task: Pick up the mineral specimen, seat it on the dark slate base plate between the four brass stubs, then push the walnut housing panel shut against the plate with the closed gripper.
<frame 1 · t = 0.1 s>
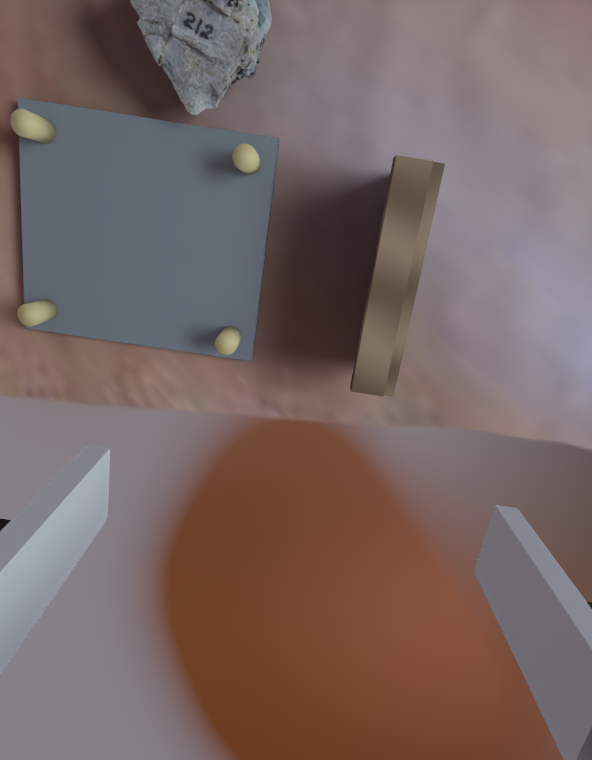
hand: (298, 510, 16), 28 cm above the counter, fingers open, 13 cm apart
housing panel: (385, 279, 37), point 4 cm above the counter, slide at 0.0 cm
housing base: (148, 239, 41), on the counter
mineral specimen: (210, 40, 36), on the counter
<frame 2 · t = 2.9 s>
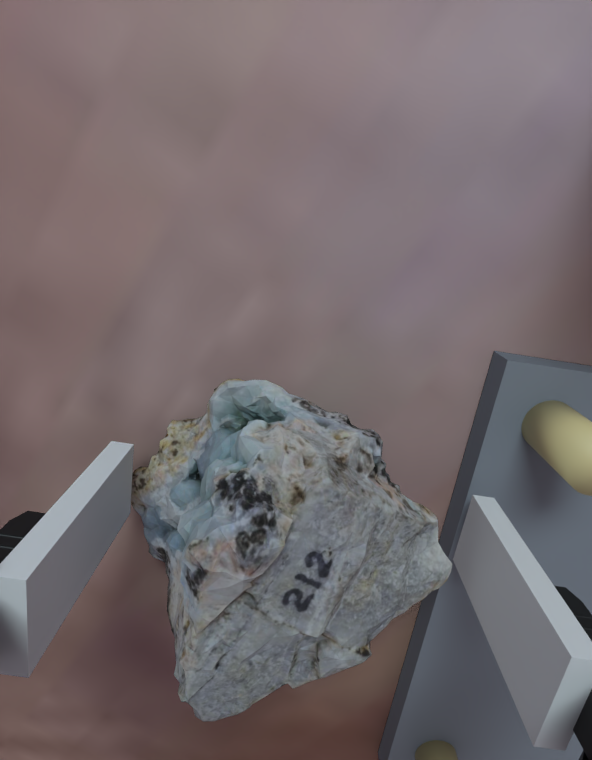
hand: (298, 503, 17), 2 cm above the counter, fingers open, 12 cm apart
mineral specimen: (280, 480, 19), on the counter, touching gripper
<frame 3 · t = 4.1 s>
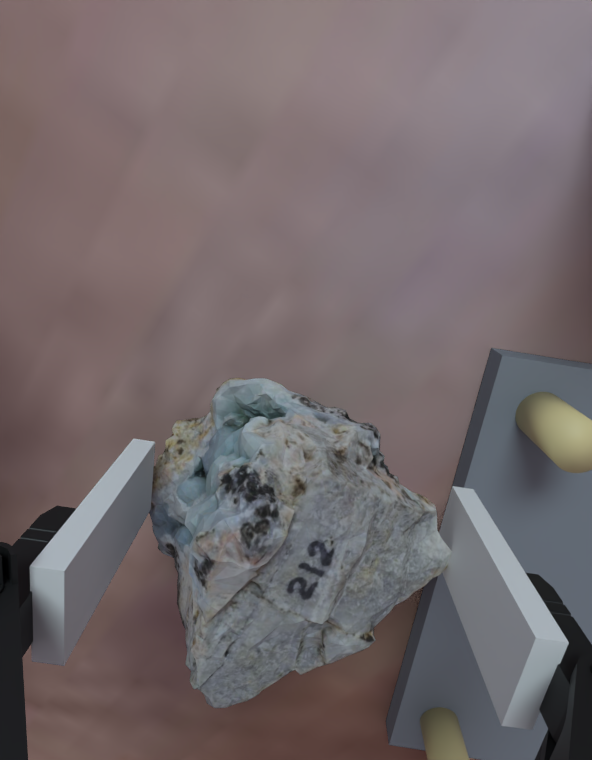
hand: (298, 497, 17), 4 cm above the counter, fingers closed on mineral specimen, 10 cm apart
mineral specimen: (284, 476, 20), point 1 cm above the counter, touching gripper
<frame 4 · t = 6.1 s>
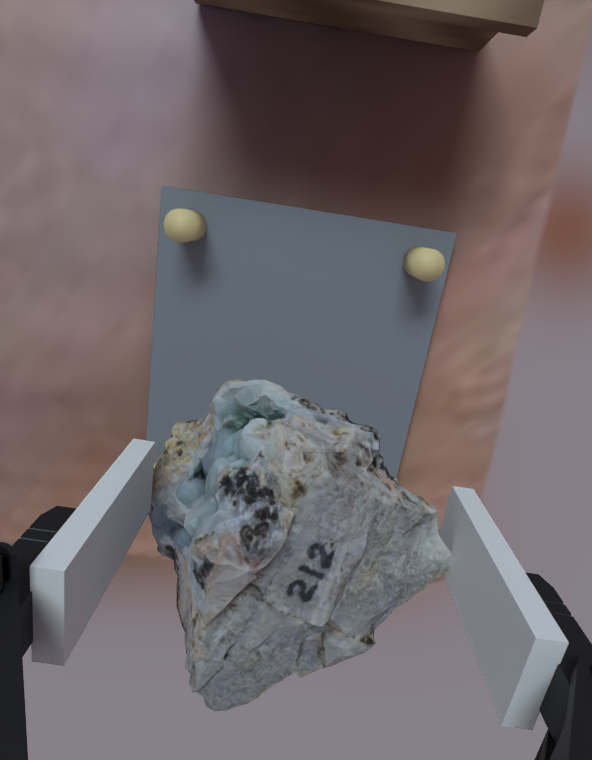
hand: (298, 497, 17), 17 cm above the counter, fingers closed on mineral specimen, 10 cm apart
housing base: (287, 361, 33), on the counter
mineral specimen: (283, 477, 20), point 15 cm above the counter, touching gripper
when the fingers open (4 cm above the counter, at t = 8.4 s): mineral specimen stays where it is, resting on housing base.
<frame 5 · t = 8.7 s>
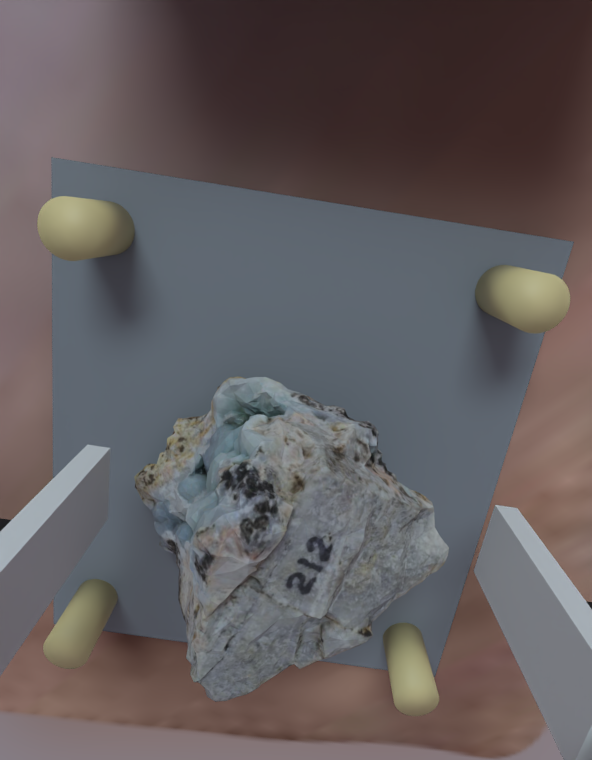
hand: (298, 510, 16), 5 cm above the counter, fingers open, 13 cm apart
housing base: (277, 447, 21), on the counter
mineral specimen: (283, 473, 20), point 1 cm above the counter, touching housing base
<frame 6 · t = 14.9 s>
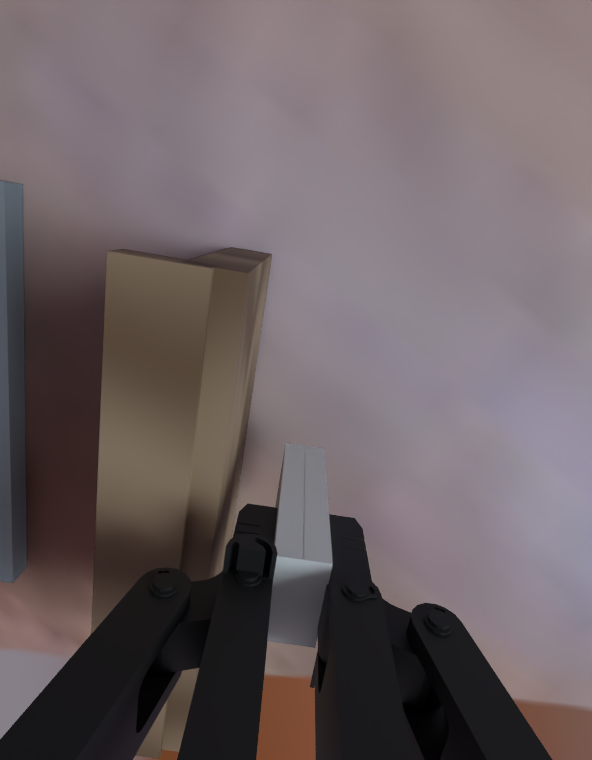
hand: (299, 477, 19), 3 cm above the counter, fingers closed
housing panel: (187, 479, 17), point 4 cm above the counter, slide at 1.4 cm, touching gripper
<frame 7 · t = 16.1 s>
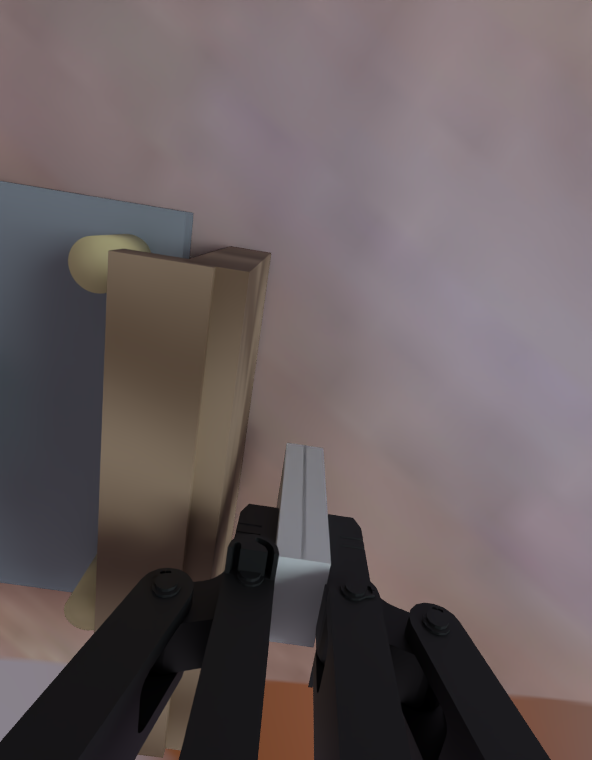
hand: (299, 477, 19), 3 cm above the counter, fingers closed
housing panel: (188, 478, 17), point 4 cm above the counter, slide at 8.1 cm, touching gripper
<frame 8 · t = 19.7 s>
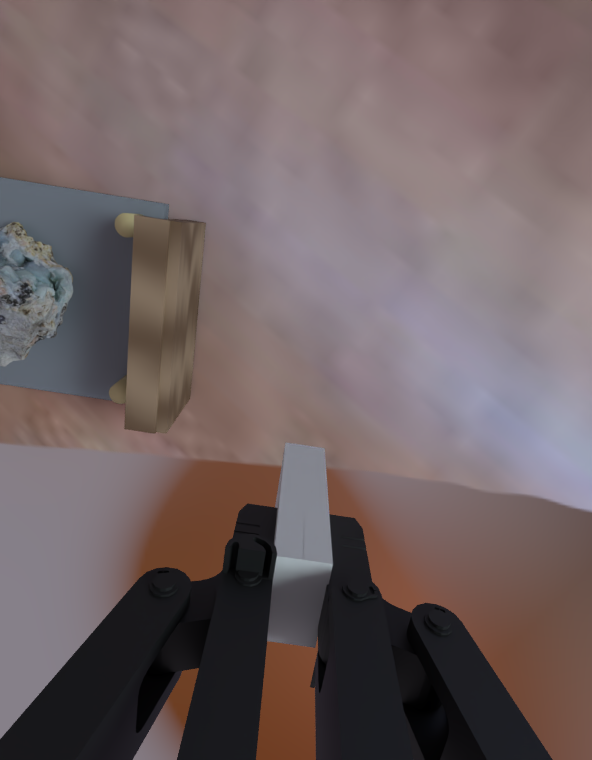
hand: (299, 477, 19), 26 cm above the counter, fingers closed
housing panel: (166, 321, 39), point 4 cm above the counter, slide at 8.0 cm
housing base: (50, 292, 43), on the counter
mineral specimen: (29, 291, 42), point 1 cm above the counter, touching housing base
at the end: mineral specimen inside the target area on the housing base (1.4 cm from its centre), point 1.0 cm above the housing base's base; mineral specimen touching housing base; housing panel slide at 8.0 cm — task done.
